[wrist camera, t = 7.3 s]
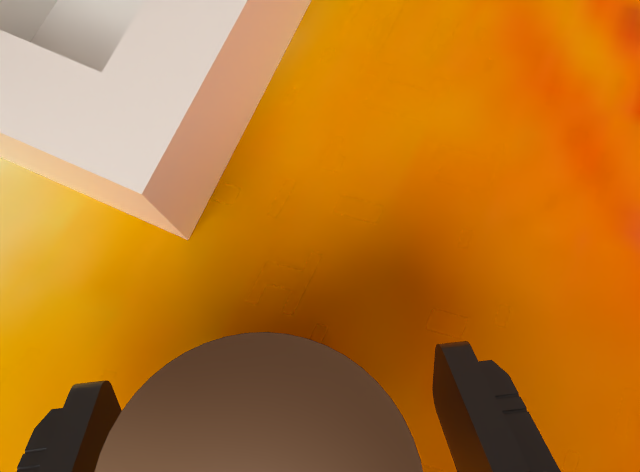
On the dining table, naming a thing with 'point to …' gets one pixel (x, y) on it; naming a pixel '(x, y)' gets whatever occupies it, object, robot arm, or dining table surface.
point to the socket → (137, 94)
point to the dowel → (260, 413)
